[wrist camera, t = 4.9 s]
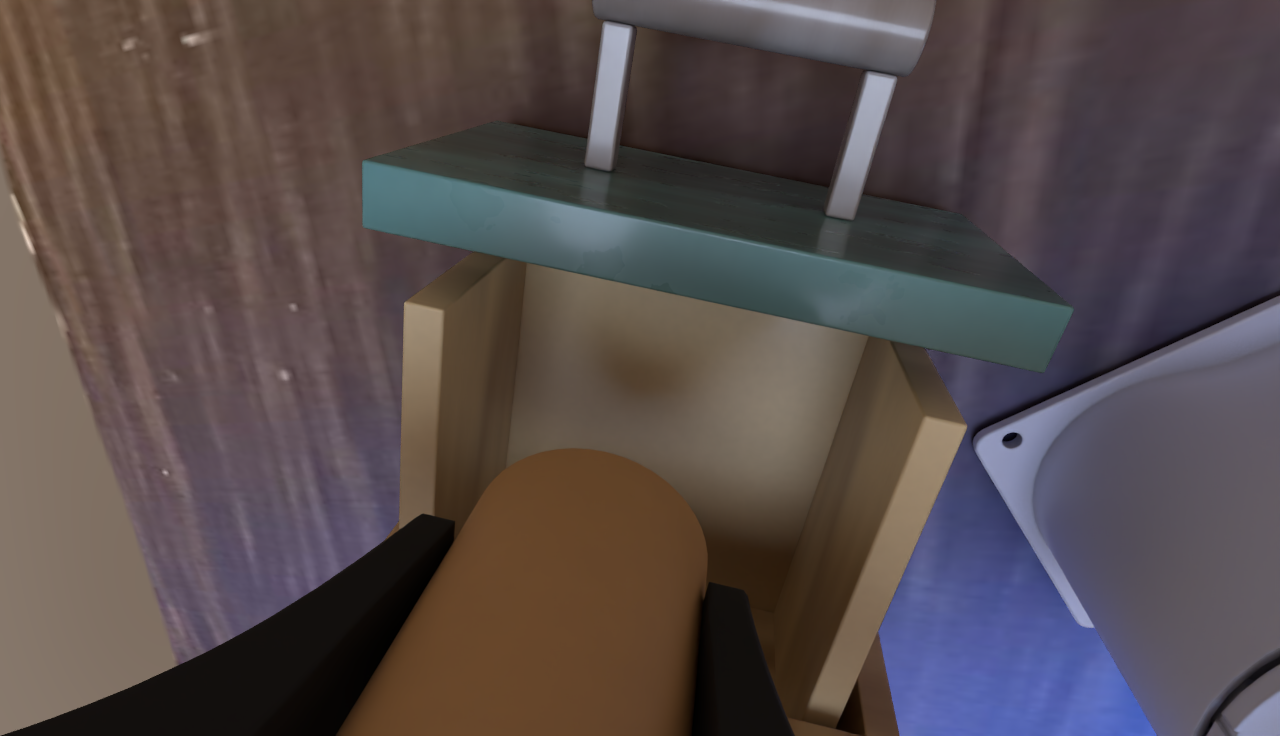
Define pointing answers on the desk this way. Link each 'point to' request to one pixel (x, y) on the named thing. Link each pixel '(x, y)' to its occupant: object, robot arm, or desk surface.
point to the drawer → (711, 329)
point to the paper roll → (553, 612)
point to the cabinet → (853, 702)
